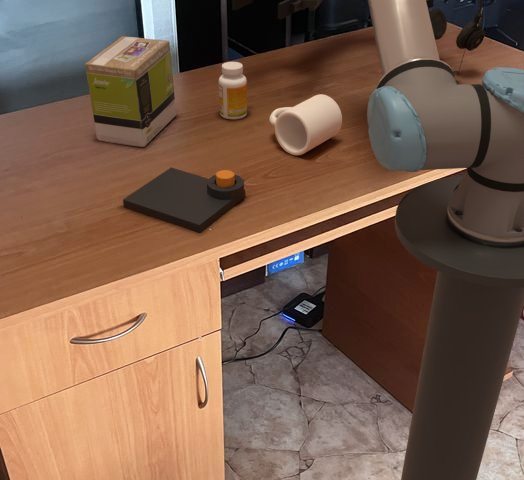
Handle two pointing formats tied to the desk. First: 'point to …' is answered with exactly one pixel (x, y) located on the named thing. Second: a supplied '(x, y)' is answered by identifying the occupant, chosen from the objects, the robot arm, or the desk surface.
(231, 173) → the tare button
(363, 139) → the desk surface
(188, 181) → the dark grey flat block
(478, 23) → the headphones
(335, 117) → the mug
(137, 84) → the tea box
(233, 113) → the supplement bottle
